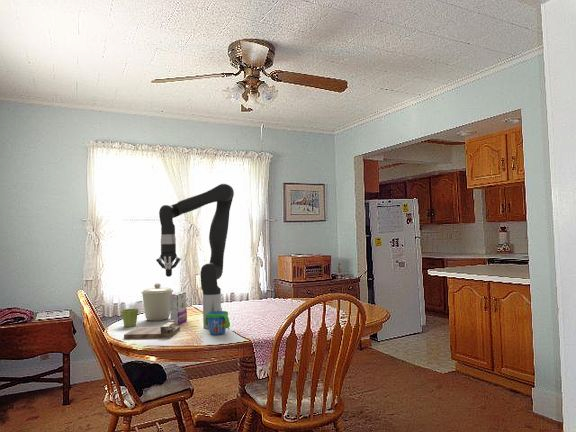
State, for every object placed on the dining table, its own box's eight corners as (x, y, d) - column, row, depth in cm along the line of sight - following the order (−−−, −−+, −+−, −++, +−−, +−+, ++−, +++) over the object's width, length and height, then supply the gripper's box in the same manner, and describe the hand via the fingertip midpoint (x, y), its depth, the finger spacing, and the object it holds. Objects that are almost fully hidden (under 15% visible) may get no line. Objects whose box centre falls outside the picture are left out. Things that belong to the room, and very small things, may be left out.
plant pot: (120, 325, 236) (120, 309, 237) (138, 323, 240) (138, 307, 240) (120, 328, 228) (120, 311, 228) (139, 326, 231) (139, 310, 231)
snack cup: (199, 333, 209) (198, 312, 210) (217, 329, 217) (217, 309, 217) (217, 338, 198) (217, 315, 199) (236, 334, 205) (235, 312, 206)
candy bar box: (179, 320, 245) (178, 291, 245) (187, 321, 244) (186, 291, 244) (169, 324, 234) (169, 294, 234) (178, 324, 233) (177, 294, 233)
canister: (148, 316, 261) (147, 282, 262) (177, 316, 260) (177, 281, 261) (136, 322, 243) (136, 285, 244) (168, 322, 242) (167, 284, 243)
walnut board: (180, 330, 217) (179, 323, 217) (170, 337, 201) (169, 330, 202) (137, 331, 218) (137, 324, 218) (123, 338, 202) (123, 331, 202)
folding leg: (170, 327, 216) (170, 320, 216) (176, 327, 216) (176, 320, 216) (160, 333, 202) (160, 326, 202) (166, 333, 202) (166, 325, 202)
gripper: (182, 242, 228) (183, 275, 228) (158, 243, 229) (158, 276, 228) (178, 243, 221) (179, 276, 220) (153, 243, 222) (153, 277, 221)
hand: (168, 276), depth 224 cm, fingers closed
